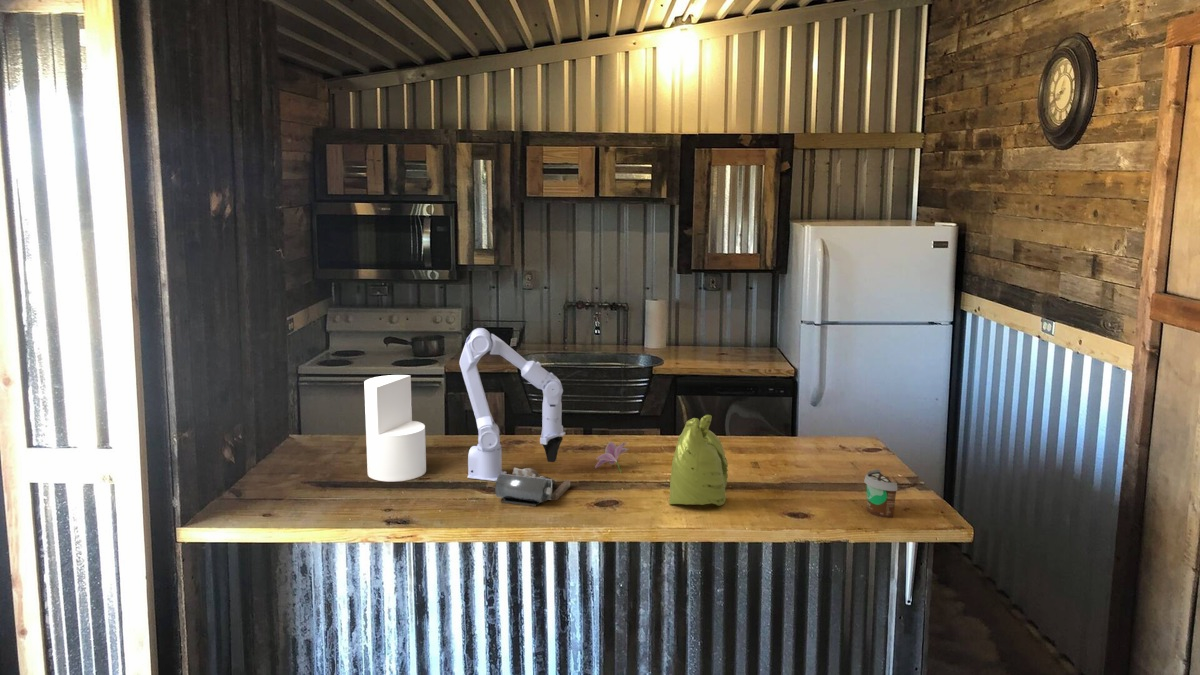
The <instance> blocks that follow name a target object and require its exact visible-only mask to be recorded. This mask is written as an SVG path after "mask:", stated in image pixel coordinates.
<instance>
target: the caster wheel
mask: <svg viewBox="0 0 1200 675" xmlns="http://www.w3.org/2000/svg"><path fill="white" fill-rule="evenodd" d="M511 475H518V476H527V477H536V478H545V479H552V478H551V477H548V476H544V475H541V474H539V473H538V472H537V471H536V470H535V469H534V468H531V467H527V468H525V467H524V468H523V469H521V468H518V467H513V470H512V474H511ZM555 487H556V481H555V480H554V479H552V493H553V492H554V491H555Z"/></svg>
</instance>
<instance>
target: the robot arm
mask: <svg viewBox="0 0 1200 675" xmlns="http://www.w3.org/2000/svg"><path fill="white" fill-rule="evenodd" d="M487 353H489V355H498V356H499V355H500V357H502V358H504V359H505V360H506V361H508V362H509V363H510V364H512V365H513V366H515V367H516V368H517V369H519V370H520V373H521V374H520V375H521V377H522V378H523V379H525V380H526V381H527V382H528V383H530V384H531V385H532V386H534V387H535V388H536V389H538V390H542V395H543V396H542V397H543V400H542V409H541V410H542V411H541V413H542V414H541V416H542V417H541V419H542V420H541V422H542V423H541V424H542V427H541V428H542V429H541V432H540V433H541V435H540V438H539V445H542V446H543V449H544V453H545V455H546V456H545V457H546V460H547V462H548V463H555V462H556V460H557V457H558V452H559V448H560V445H561V444H562V442H563V438H564V437H563V436H565V435H566V431H564V425H562V415H563V414H562V412H563V410H562V409H563V408H562V407H563V406H562V404H563V403H562V395H563V392H564V389H563V385H562V382H561V380H560V379H559V378H558V377H557V376H558V375H555V374H554V373H553V372H549V371H548V370H546V369H545V367H542V363H541V362H539V361H535V360H527V359H526V358H524V357H523V356H521V354H519V353H518V352H517V351H516V350H514V349H513V348H512V347H511V346H510V345H508V344H507V343H506V342H505V341H504V340H502V339H501V338H500V337H498V336H497V335H495V334H494V333H490V331H488V330H487V329H486V328H484V327H477V328H475V329H473V330H472V331H471V332H470V334H469V335H468V336H467V337H466V340H465V343H464V346H463V349H462V352H461V354H460V358H459V367H460V370H461V374H462V378H463V381H464V385H465V387H466V391H467V393H468V398H469V401H470V404H471V408H472V411H473V414H474V417H475V422H476V427H477V431H478V432H477V433H478V437H477V441H478V443H477V444H476V445H472V446H471V447H470V449H469V450H468V453H467V454H468V455H467V456H468V458H467V468H468V469H467V473H468V474H467V478H468V479H474V480H482V481H491V482H496V481H497V478H498V476H499V475H500V474H507V471H503V470H502V469H503V468H502V444H501V443H500V442H501V438H500V433H501V432H500V431H501V430H500V427H499V426H498V424H497V423H495V421H494V418H493V415H492V413H491V410H490V406H489V402H488V400H487V398H486V393H485V390H484V387H483V384H482V380H481V375H480V372H479V369H478V366H477V364H478V363H479V361H480V360H481V358H482V357H483V356H484V355H486V354H487Z"/></svg>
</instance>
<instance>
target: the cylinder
mask: <svg viewBox="0 0 1200 675" xmlns="http://www.w3.org/2000/svg"><path fill="white" fill-rule="evenodd" d="M411 376H412V375H408V374H391V375H389V374H388V375H381V376H374V377H370V378H368V379H366V380H364V381H363V383H364V385H363V386H364V387H363V388H364V391H363V392H364V412H365V414H364V416H365V417H364V418H365V441H366V444H365V445H366V466H367V468H366V470H367V477H369V478H370V479H372V480H376V481H379V482H403V481H405V482H406V481H409V480H413V479H416V478H417V479H418V478H420V477H422V476H423V475H425V474H426V472H427V457H426V456H427V452H426V451H427V449H426V448H427V447H426V425H425V423H422V422H421V421H417V420H413V413H412V412H413V411H412V380H411V379H412V378H411Z"/></svg>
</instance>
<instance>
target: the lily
mask: <svg viewBox="0 0 1200 675" xmlns="http://www.w3.org/2000/svg"><path fill="white" fill-rule="evenodd" d="M627 443H628V441H624V442H622V443H620V444H619V445H617V444H616V443H614V442H612V441H609V442H608V443H607V445H606V446H605V450H604V453H602V454H601V455H599V456H597V457H596V458H595V459H596V460H598V461H597V463H596V464H595V466H594V469H597V468H599V467H600V466H601V465H603V464H605V463H607V462H608V464H610V465H612V466H614V465H615V463H616V465H617V467H618V470H619V472H620V473H621V472H622V470H621V468H620V465H619V463H618V459H619V456H620V455H621V454H623V453H625V452H627V451H629V448H627V447H625V445H626V444H627ZM613 464H614V465H613Z"/></svg>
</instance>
